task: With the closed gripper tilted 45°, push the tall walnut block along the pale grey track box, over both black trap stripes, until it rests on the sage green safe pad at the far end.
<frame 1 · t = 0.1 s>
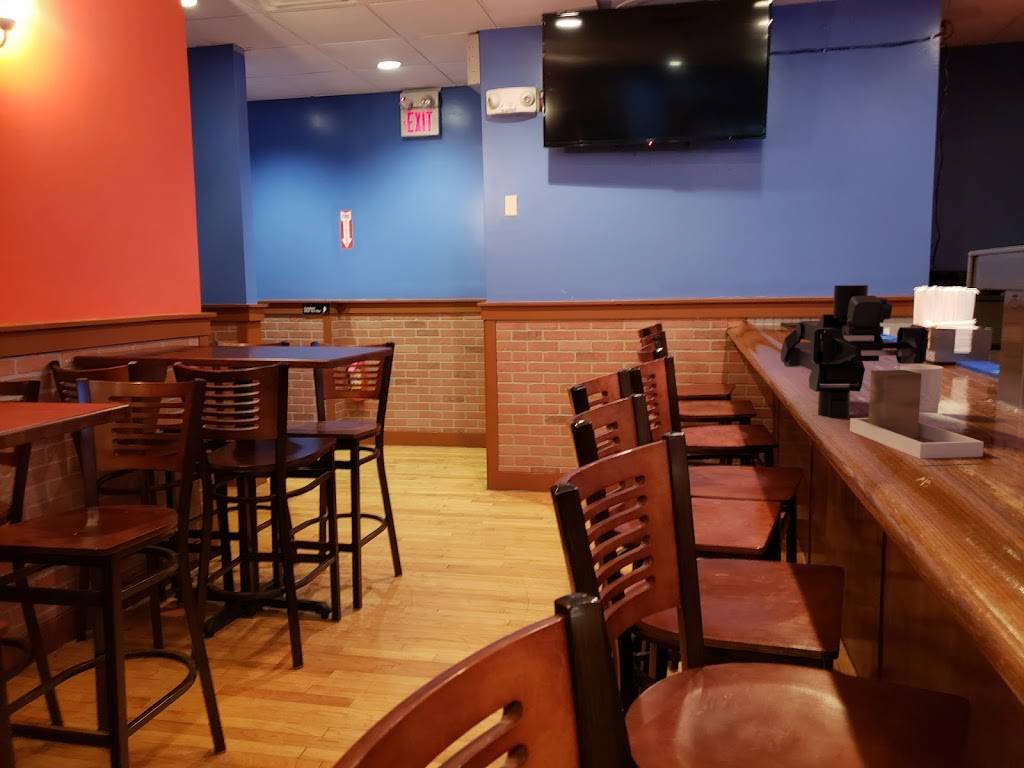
hand: (886, 350, 127), 17 cm above the table, tool horizontal, fingers open, 9 cm apart
walnut block: (894, 403, 133), point 7 cm above the table, slide at 0.0 cm
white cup: (918, 416, 159), on the table
track box: (910, 450, 129), on the table
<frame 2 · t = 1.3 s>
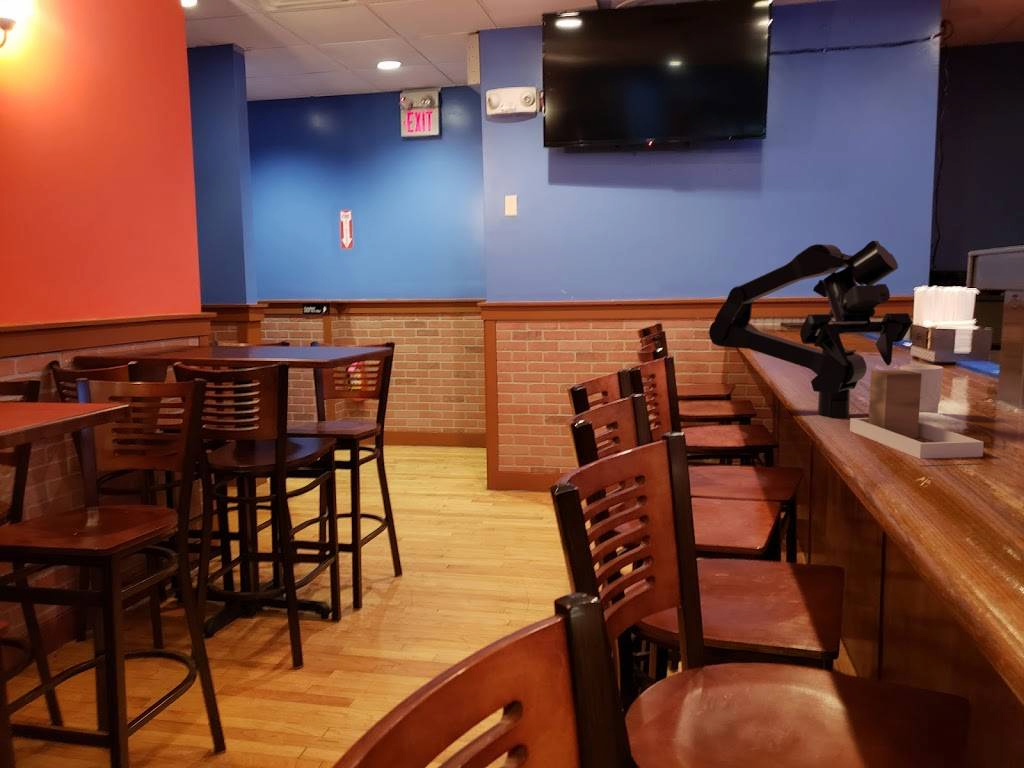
hand: (867, 364, 139), 13 cm above the table, tool tilted 45°, fingers open, 7 cm apart
nothing on the table moved.
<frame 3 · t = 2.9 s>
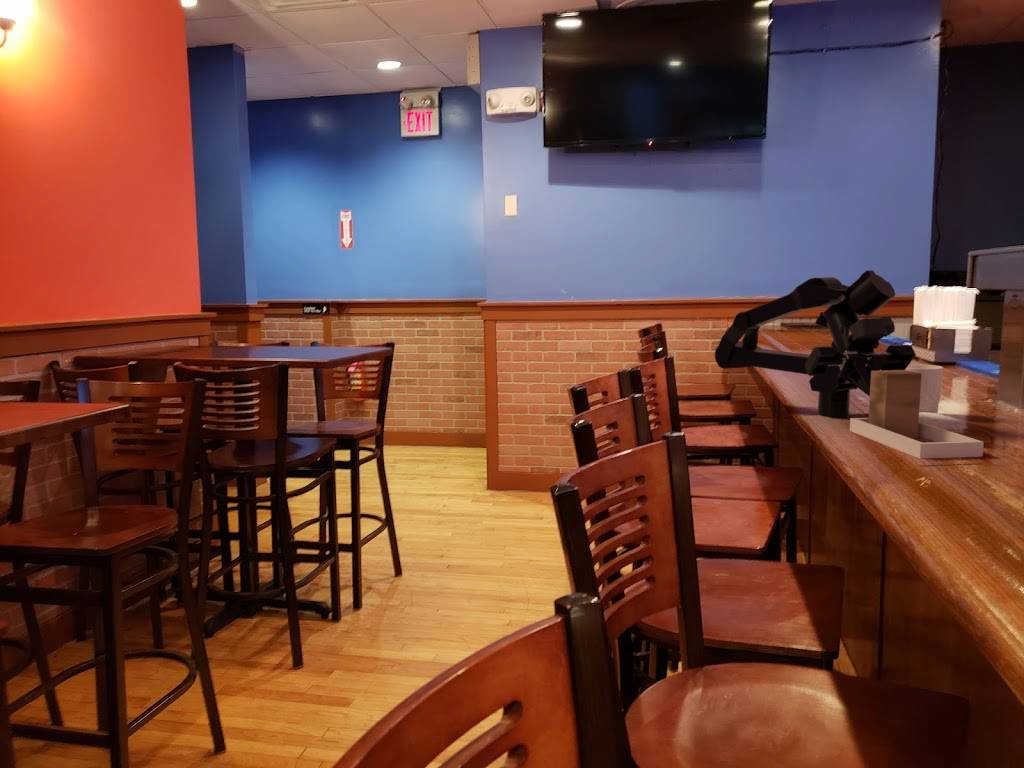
hand: (875, 396, 139), 7 cm above the table, tool tilted 45°, fingers closed
nothing on the table moved.
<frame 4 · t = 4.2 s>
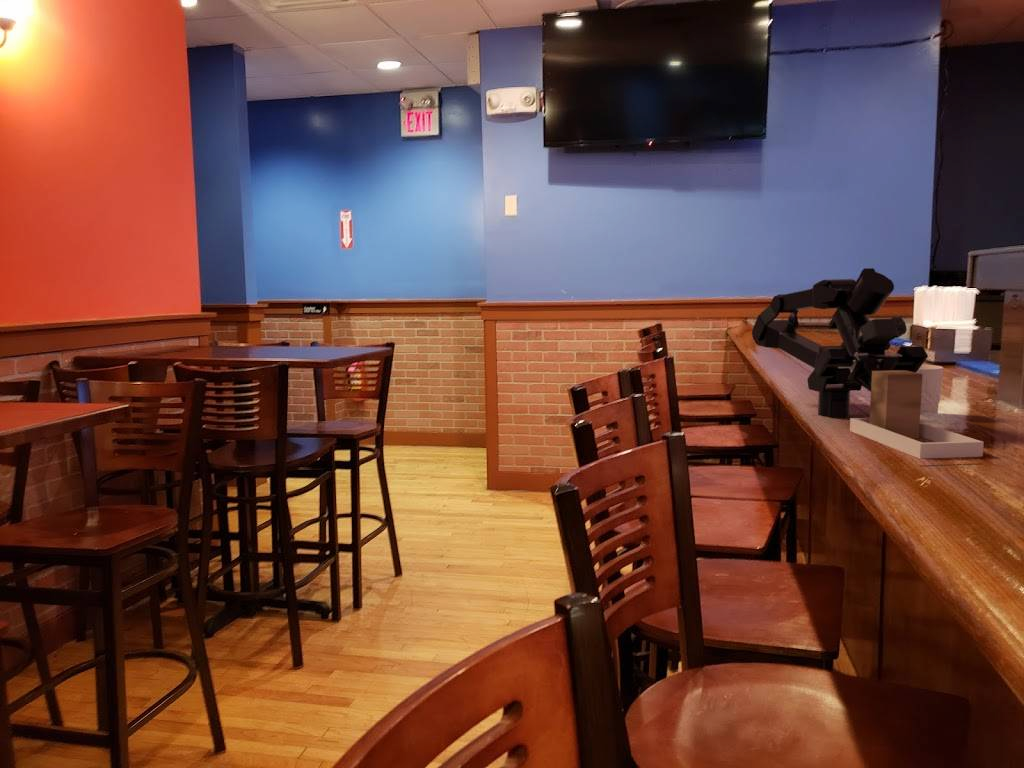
hand: (886, 399, 136), 7 cm above the table, tool tilted 45°, fingers closed, pressing on walnut block
walnut block: (895, 404, 133), point 7 cm above the table, slide at 0.3 cm, touching gripper
everything else where it was.
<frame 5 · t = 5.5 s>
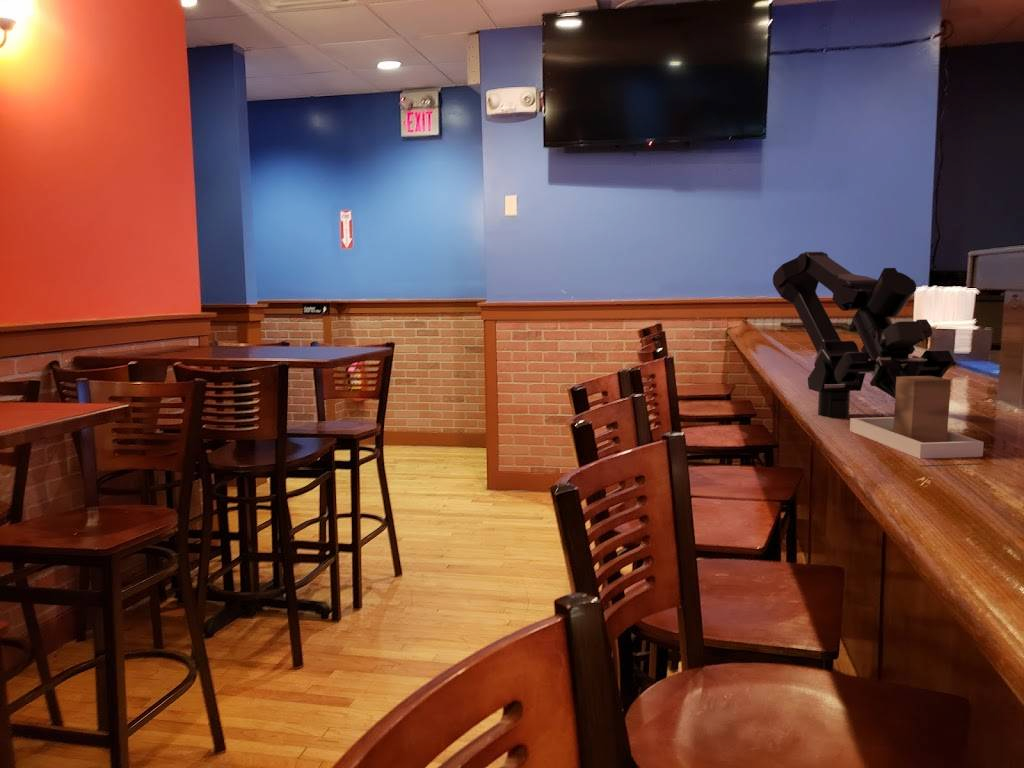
hand: (911, 406, 128), 7 cm above the table, tool tilted 45°, fingers closed, pressing on walnut block
walnut block: (921, 411, 126), point 7 cm above the table, slide at 7.8 cm, touching gripper
everything else where it was.
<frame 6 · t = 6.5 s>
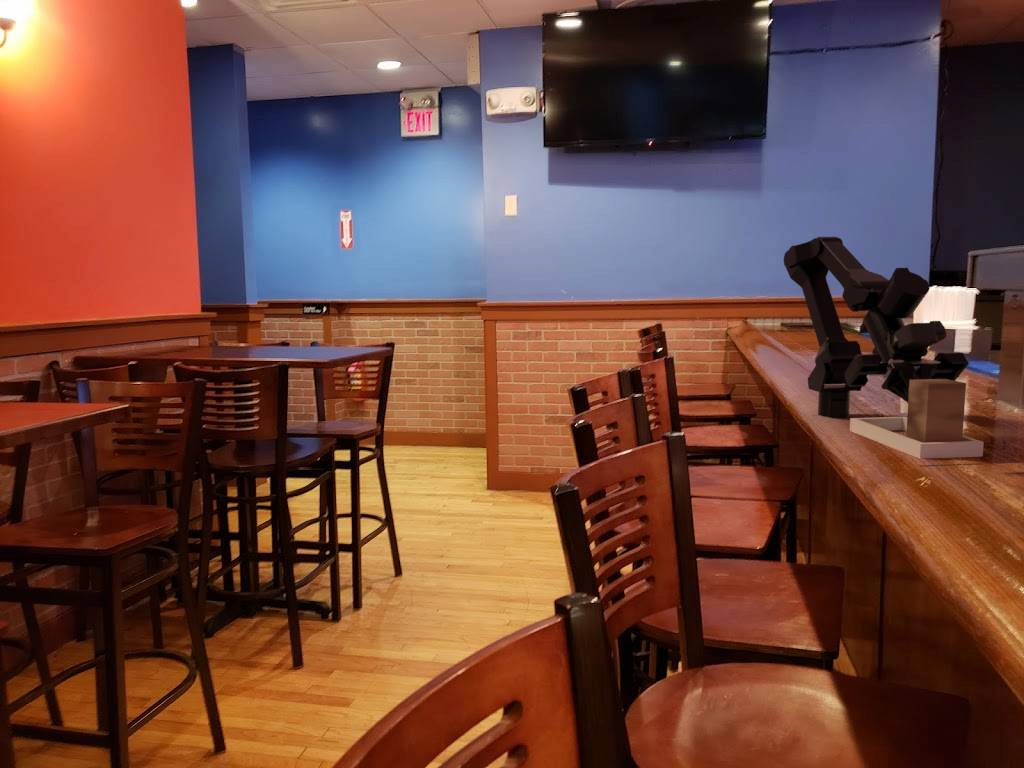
hand: (924, 410, 125), 7 cm above the table, tool tilted 45°, fingers closed, pressing on walnut block
walnut block: (935, 416, 122), point 7 cm above the table, slide at 11.4 cm, touching gripper
everything else where it was.
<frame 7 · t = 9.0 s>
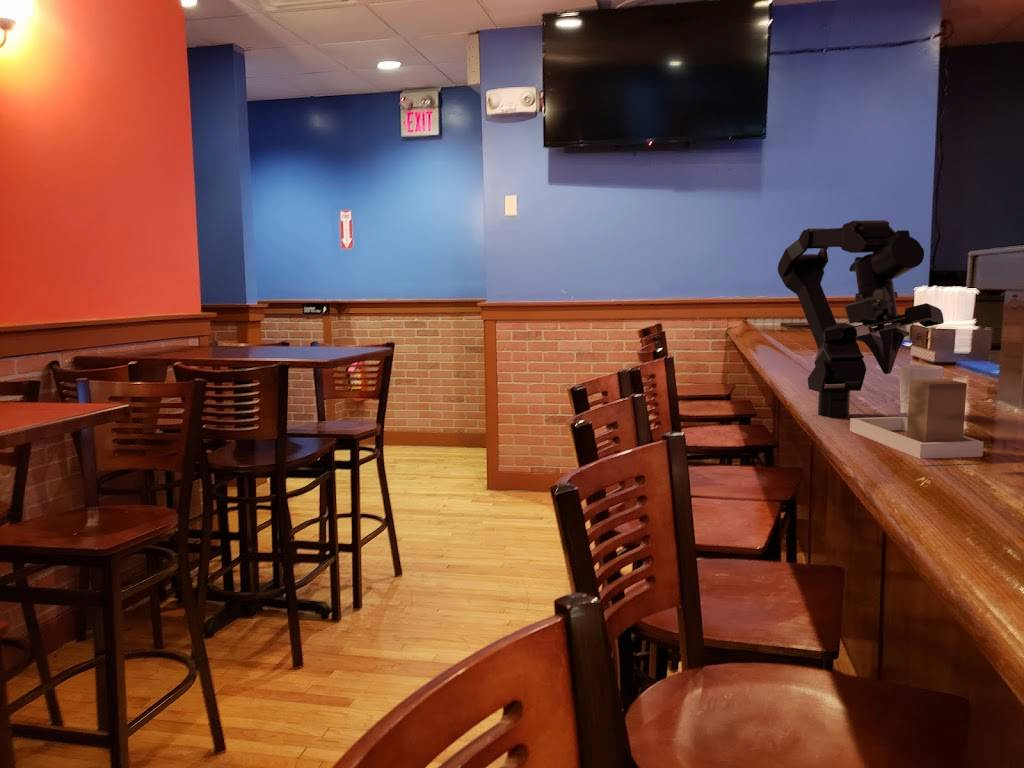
hand: (887, 373, 135), 12 cm above the table, tool tilted 20°, fingers closed
walnut block: (935, 416, 122), point 7 cm above the table, slide at 11.6 cm
everything else where it was.
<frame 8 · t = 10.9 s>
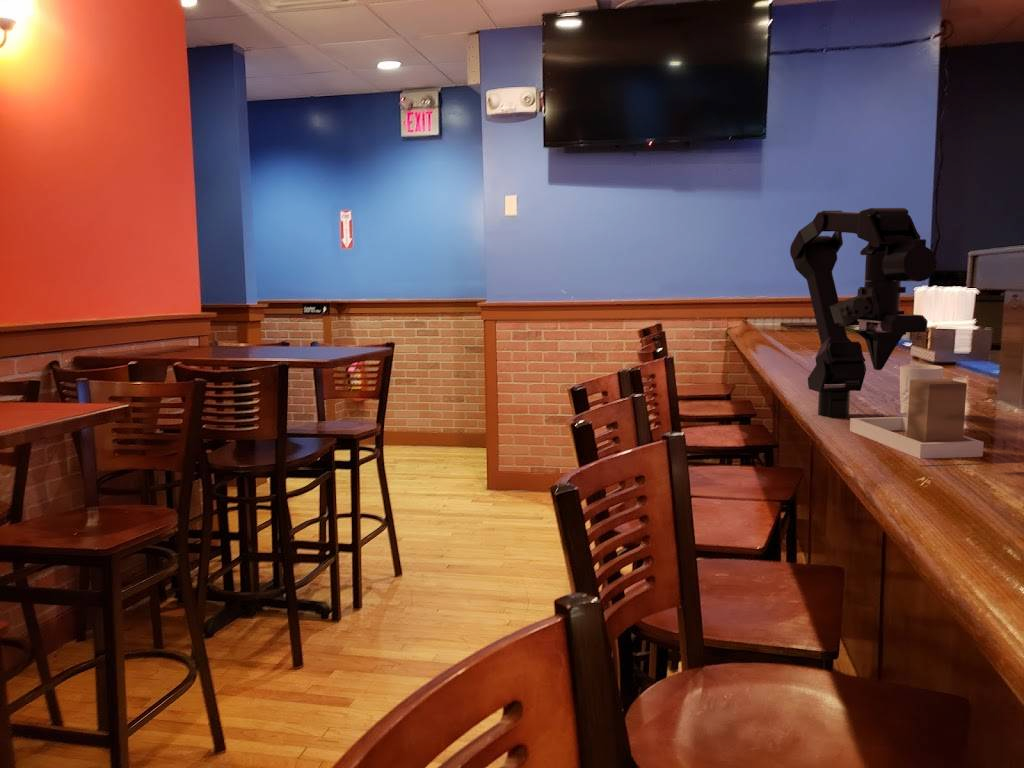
hand: (877, 369, 138), 12 cm above the table, tool pointing down, fingers closed
nothing on the table moved.
at the end: walnut block slide at 11.6 cm; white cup moved 0.2 cm from its start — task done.
